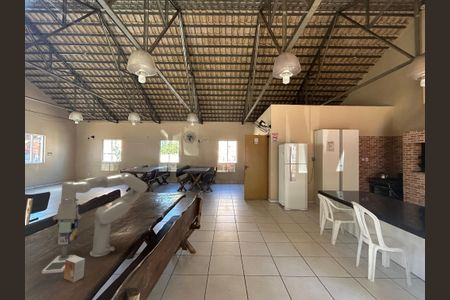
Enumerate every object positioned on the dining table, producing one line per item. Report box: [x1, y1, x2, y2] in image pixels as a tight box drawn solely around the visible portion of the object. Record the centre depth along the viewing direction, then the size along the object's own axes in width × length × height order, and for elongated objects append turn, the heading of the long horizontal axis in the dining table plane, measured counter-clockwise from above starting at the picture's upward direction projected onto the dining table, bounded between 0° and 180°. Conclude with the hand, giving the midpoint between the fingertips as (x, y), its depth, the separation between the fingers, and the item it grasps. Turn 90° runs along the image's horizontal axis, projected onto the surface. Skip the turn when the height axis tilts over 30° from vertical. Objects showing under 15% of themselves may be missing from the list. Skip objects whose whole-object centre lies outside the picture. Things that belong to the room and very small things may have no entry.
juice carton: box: [57, 207, 80, 245], centre depth 160 cm, size 12×8×24 cm, turn 11°
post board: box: [41, 244, 77, 275], centre depth 127 cm, size 18×10×10 cm, turn 16°
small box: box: [63, 255, 86, 283], centre depth 115 cm, size 8×6×10 cm
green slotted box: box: [57, 220, 72, 234], centre depth 132 cm, size 6×6×6 cm
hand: (66, 229), depth 132 cm, fingers closed on green slotted box, 6 cm apart
